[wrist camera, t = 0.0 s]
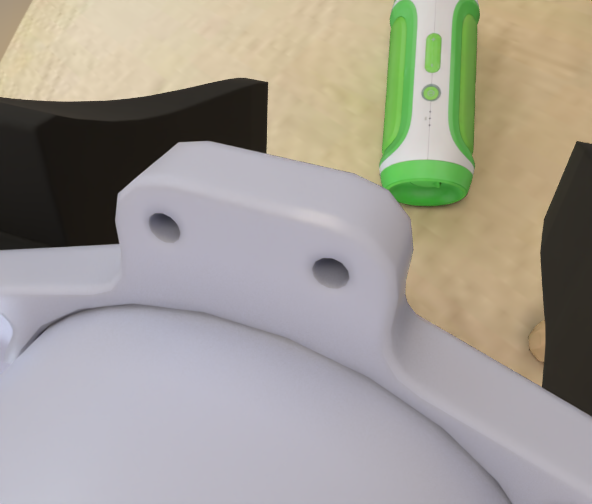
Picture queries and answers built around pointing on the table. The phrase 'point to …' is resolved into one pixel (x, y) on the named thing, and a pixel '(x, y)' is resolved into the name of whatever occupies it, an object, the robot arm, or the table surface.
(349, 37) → the table surface
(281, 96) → the table surface
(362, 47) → the table surface
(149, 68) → the table surface
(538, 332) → the milkshake
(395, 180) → the speaker
